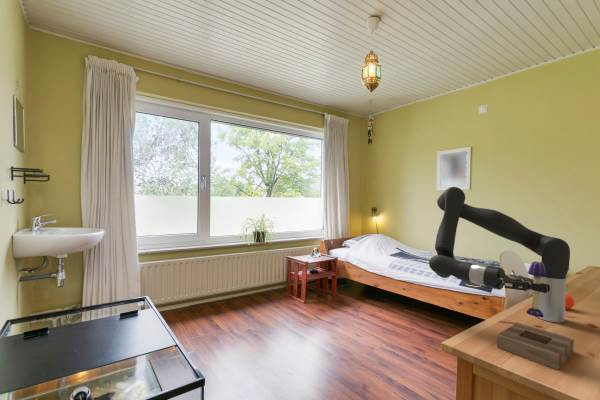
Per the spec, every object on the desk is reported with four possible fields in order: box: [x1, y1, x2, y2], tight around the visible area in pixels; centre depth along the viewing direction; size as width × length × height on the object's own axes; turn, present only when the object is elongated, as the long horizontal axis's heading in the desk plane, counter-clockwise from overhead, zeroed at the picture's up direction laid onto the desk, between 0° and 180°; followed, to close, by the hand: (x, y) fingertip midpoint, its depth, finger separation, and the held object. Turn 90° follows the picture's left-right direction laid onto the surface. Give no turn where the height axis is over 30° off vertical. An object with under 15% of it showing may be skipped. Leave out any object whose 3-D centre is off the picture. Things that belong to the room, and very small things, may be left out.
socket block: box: [496, 322, 575, 370], centre depth 93 cm, size 18×15×4 cm
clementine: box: [565, 293, 575, 310], centre depth 133 cm, size 8×7×7 cm
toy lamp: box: [526, 261, 547, 318], centre depth 93 cm, size 5×5×17 cm
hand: (548, 289), depth 91 cm, fingers closed on toy lamp
